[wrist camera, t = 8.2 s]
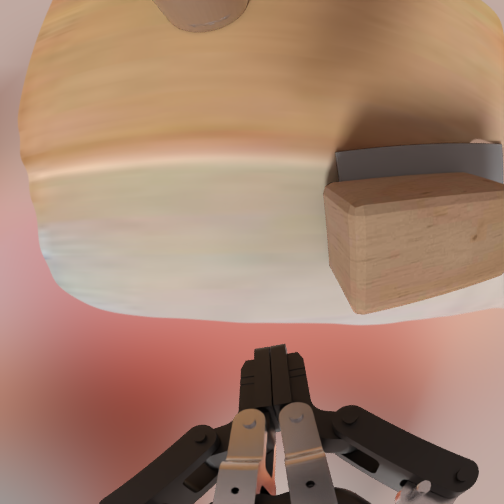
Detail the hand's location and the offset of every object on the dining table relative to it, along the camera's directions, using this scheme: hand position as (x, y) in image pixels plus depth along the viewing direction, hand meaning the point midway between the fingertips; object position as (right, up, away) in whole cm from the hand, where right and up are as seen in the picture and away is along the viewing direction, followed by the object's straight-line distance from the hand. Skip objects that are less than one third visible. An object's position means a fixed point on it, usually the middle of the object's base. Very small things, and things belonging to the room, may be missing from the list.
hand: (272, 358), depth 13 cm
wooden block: (+6, +6, +12) cm, 15 cm away
